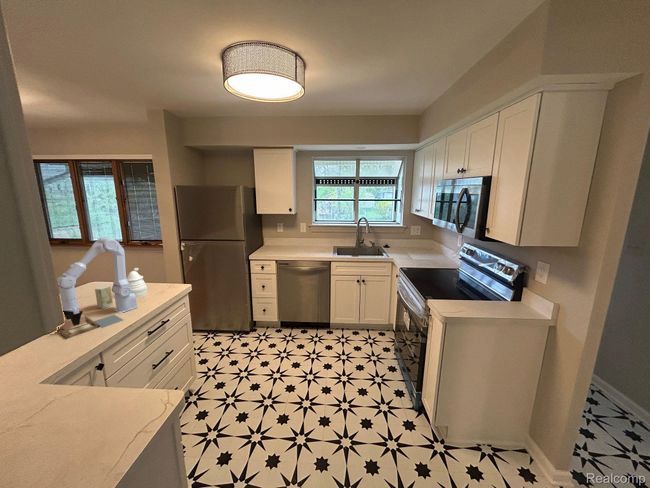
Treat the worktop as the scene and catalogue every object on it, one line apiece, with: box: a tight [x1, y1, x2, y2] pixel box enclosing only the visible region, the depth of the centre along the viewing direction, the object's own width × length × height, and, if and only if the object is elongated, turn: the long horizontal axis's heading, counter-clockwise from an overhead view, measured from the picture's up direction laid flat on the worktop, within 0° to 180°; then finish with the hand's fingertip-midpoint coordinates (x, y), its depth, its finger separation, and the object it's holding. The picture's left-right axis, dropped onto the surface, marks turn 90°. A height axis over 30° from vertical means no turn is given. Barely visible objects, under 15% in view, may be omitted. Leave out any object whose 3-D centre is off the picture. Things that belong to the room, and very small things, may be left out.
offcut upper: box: [68, 323, 93, 335], centre depth 133 cm, size 8×4×1 cm, turn 152°
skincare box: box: [94, 285, 114, 310], centre depth 159 cm, size 6×4×12 cm
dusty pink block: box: [60, 314, 87, 330], centre depth 137 cm, size 9×2×4 cm, turn 150°
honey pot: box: [126, 267, 148, 299], centre depth 177 cm, size 13×13×18 cm
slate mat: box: [93, 314, 124, 329], centre depth 143 cm, size 10×12×1 cm
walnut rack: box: [56, 315, 101, 340], centre depth 136 cm, size 13×19×2 cm
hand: (73, 323), depth 137 cm, fingers open, 7 cm apart
